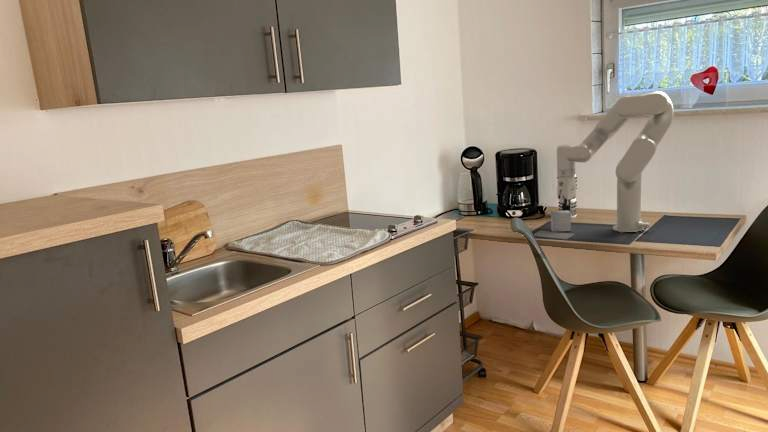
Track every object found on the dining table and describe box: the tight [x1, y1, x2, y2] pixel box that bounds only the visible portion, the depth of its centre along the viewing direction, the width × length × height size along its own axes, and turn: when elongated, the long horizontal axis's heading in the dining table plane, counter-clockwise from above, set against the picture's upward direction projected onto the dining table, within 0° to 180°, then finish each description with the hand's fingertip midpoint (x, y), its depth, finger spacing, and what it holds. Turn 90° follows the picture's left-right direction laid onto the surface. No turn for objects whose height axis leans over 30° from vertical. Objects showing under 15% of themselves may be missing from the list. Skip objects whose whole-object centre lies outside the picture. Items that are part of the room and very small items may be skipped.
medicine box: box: [550, 210, 572, 233], centre depth 269 cm, size 8×4×9 cm, turn 84°
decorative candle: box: [556, 173, 578, 219], centre depth 294 cm, size 9×9×25 cm
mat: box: [533, 230, 576, 241], centre depth 264 cm, size 16×9×1 cm, turn 50°
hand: (566, 213), depth 273 cm, fingers closed
